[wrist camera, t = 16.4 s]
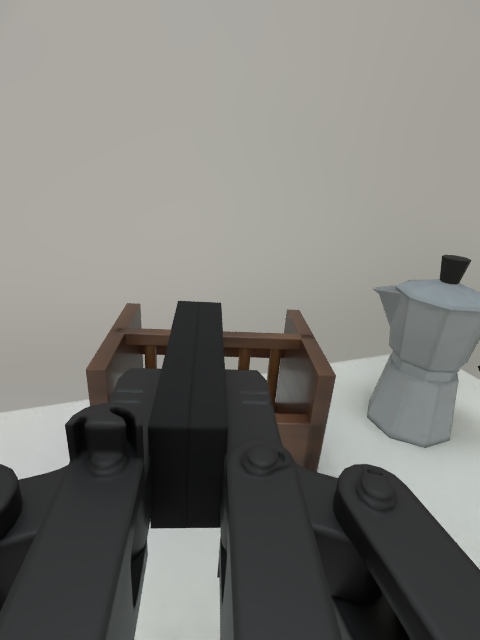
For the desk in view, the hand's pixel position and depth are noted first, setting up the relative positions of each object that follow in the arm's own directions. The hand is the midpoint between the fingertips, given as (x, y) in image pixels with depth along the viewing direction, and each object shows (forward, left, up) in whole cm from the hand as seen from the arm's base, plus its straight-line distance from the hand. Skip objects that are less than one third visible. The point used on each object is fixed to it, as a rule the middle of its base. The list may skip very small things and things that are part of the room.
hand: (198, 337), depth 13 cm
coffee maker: (+21, +21, -19) cm, 35 cm away
